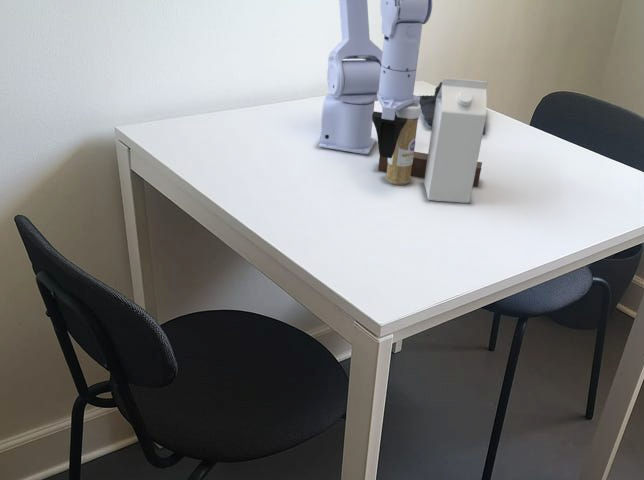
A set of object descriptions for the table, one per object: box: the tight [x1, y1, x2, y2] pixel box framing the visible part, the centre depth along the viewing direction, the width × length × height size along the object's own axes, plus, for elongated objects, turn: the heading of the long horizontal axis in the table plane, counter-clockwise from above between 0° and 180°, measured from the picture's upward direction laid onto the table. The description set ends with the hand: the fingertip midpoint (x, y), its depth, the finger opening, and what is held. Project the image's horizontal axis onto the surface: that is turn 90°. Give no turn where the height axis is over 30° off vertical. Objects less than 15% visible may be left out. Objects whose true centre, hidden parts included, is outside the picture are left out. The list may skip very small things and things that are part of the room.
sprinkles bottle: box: [384, 103, 421, 186], centre depth 122 cm, size 5×5×13 cm
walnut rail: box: [377, 151, 483, 188], centre depth 128 cm, size 18×3×4 cm, turn 80°
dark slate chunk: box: [419, 81, 486, 136], centre depth 155 cm, size 15×22×5 cm
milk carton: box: [423, 77, 489, 204], centre depth 118 cm, size 7×7×19 cm
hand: (389, 148), depth 123 cm, fingers open, 7 cm apart
